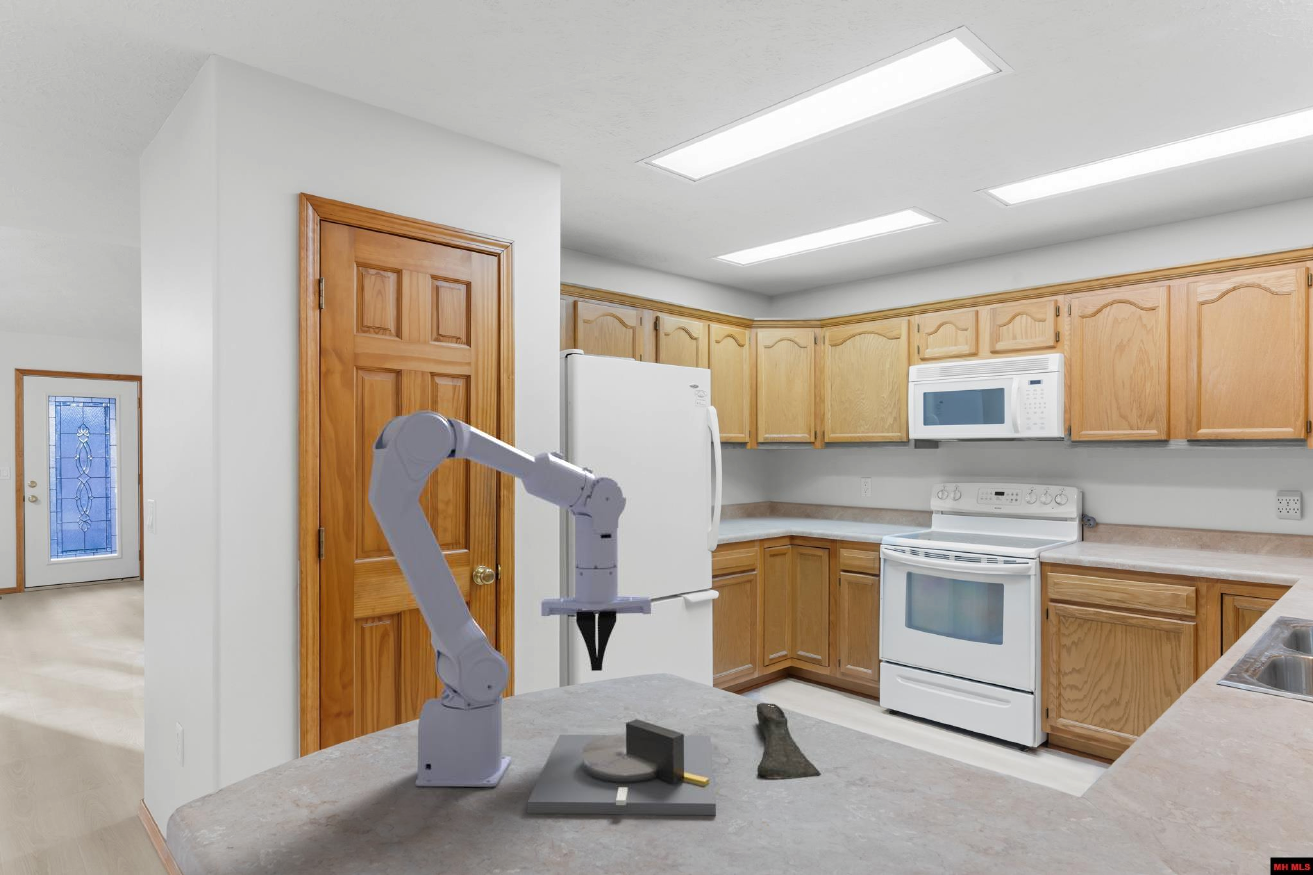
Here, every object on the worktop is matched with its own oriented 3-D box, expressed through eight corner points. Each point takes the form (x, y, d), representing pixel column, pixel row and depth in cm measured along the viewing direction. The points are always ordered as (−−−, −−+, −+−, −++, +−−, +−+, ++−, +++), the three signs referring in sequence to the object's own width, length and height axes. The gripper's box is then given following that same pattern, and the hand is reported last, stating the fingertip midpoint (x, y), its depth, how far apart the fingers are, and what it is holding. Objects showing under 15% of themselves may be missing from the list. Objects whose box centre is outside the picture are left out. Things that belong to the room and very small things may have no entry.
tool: (822, 792, 88) (825, 766, 88) (758, 787, 88) (760, 762, 87) (787, 715, 109) (789, 694, 108) (735, 711, 108) (737, 691, 108)
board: (526, 815, 79) (526, 799, 79) (559, 743, 99) (559, 730, 99) (716, 817, 78) (715, 801, 78) (710, 744, 99) (710, 731, 99)
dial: (563, 763, 89) (563, 721, 89) (629, 738, 97) (628, 699, 97) (644, 797, 80) (644, 749, 80) (709, 766, 88) (709, 723, 88)
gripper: (538, 571, 96) (539, 678, 95) (651, 569, 97) (652, 675, 96) (544, 564, 103) (544, 663, 102) (649, 562, 104) (650, 661, 103)
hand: (596, 668), depth 100 cm, fingers closed
